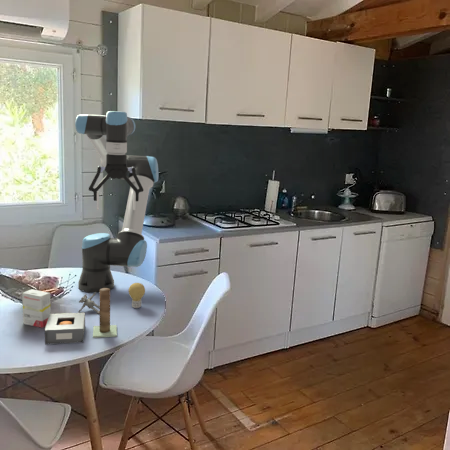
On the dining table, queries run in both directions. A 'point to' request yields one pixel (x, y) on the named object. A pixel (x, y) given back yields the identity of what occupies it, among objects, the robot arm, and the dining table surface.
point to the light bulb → (136, 294)
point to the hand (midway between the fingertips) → (116, 209)
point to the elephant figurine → (89, 303)
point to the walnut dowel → (104, 310)
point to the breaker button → (65, 322)
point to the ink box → (36, 308)
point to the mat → (108, 334)
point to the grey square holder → (65, 328)
